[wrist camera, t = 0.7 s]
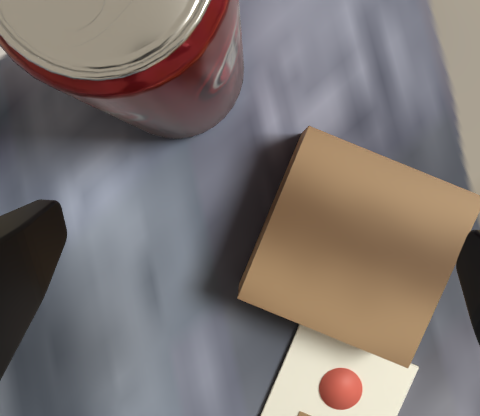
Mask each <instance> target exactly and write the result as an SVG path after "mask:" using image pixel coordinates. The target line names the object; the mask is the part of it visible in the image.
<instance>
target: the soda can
mask: <svg viewBox="0 0 480 416" xmlns="http://www.w3.org/2000/svg"><path fill="white" fill-rule="evenodd" d="M0 46H1V47H2V48H3V50H4V51H5V52H6V53H7V54H8V55H9V57H10V58H11V59H12V60H13V61H14V62H15V63H16V64H17V65H19V66H20V67H21V68H22V69H24V70H25V71H26V72H27V73H29V74H30V75H31V76H32V77H34V78H36V79H37V80H39V81H41V82H43V83H45V84H47V85H49V86H51V87H53V88H55V89H57V90H59V91H61V92H63V93H65V94H67V95H69V96H72V97H74V98H76V99H78V100H80V101H82V102H84V103H86V104H89V105H91V106H93V107H95V108H97V109H99V110H101V111H103V112H105V113H108V114H110V115H112V116H114V117H116V118H118V119H120V120H122V121H125V122H127V123H129V124H131V125H133V126H135V127H137V128H139V129H142V130H144V131H146V132H148V133H150V134H153V135H156V136H160V137H163V138H174V139H179V138H187V137H192V136H195V135H198V134H201V133H204V132H206V131H207V130H209V129H211V128H213V127H214V126H216V125H217V124H218V123H219V122H220V121H221V120H223V119H224V118H225V117H226V115H227V114H228V113H229V111H230V110H231V109H232V108H233V106H234V104H235V102H236V100H237V98H238V96H239V94H240V90H241V87H242V83H243V74H244V61H243V48H242V35H241V21H240V8H239V0H0Z"/></svg>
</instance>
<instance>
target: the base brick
mask: <svg viewBox="0 0 480 416" xmlns="http://www.w3.org/2000/svg"><path fill="white" fill-rule="evenodd" d="M479 211H480V195H477V194H475V193H472V192H470V191H468V190H465V189H463V188H460V187H458V186H455V185H453V184H450V183H448V182H445V181H443V180H441V179H438V178H436V177H433V176H431V175H428V174H426V173H423V172H421V171H418V170H416V169H414V168H411V167H409V166H406V165H404V164H401V163H399V162H396V161H394V160H391V159H389V158H387V157H384V156H382V155H379V154H377V153H374V152H372V151H369V150H367V149H364V148H362V147H360V146H357V145H355V144H352V143H350V142H347V141H345V140H342V139H340V138H337V137H335V136H333V135H330V134H328V133H325V132H323V131H320V130H318V129H315V128H313V127H310V126H308V127H307V128H306V129H305V130H304V131H303V132H302V133H301V136H300V138H299V140H298V143H297V145H296V148H295V150H294V153H293V155H292V157H291V160H290V162H289V165H288V167H287V169H286V172H285V174H284V177H283V179H282V182H281V184H280V186H279V189H278V191H277V194H276V196H275V198H274V201H273V203H272V206H271V208H270V211H269V213H268V215H267V218H266V220H265V223H264V225H263V227H262V230H261V232H260V235H259V237H258V240H257V242H256V244H255V247H254V249H253V252H252V254H251V256H250V259H249V261H248V264H247V266H246V268H245V271H244V273H243V276H242V278H241V281H240V283H239V290H238V297H237V299H240V300H242V301H244V302H247V303H249V304H252V305H254V306H257V307H259V308H262V309H264V310H266V311H269V312H271V313H274V314H276V315H279V316H281V317H283V318H286V319H288V320H291V321H293V322H296V323H298V324H301V325H303V326H305V327H308V328H310V329H313V330H315V331H318V332H320V333H323V334H325V335H327V336H330V337H332V338H335V339H337V340H340V341H342V342H344V343H347V344H349V345H352V346H354V347H357V348H359V349H362V350H364V351H366V352H369V353H371V354H374V355H376V356H379V357H381V358H383V359H386V360H388V361H391V362H393V363H396V364H398V365H401V366H403V367H405V368H409V366H410V363H411V361H412V359H413V357H414V355H415V352H416V350H417V348H418V346H419V344H420V341H421V339H422V337H423V335H424V333H425V330H426V328H427V326H428V324H429V322H430V319H431V317H432V315H433V313H434V310H435V308H436V306H437V304H438V302H439V299H440V297H441V295H442V293H443V291H444V288H445V286H446V284H447V282H448V280H449V277H450V275H451V273H452V271H453V269H454V266H455V264H456V262H457V258H458V256H459V253H460V251H461V249H462V246H463V244H464V242H465V239H466V237H467V235H468V233H469V232H470V231H471V229H472V227H473V224H474V222H475V220H476V218H477V216H478V213H479Z"/></svg>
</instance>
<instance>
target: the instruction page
mask: <svg viewBox="0 0 480 416" xmlns="http://www.w3.org/2000/svg"><path fill="white" fill-rule="evenodd" d="M418 368H419V367H418V366H416V365H414V364H411V363H410V366H409V368H405V367H403V366H401V365H398V364H396V363H393V362H391V361H388V360H386V359H383V358H381V357H379V356H376V355H374V354H371V353H369V352H366V351H364V350H362V349H359V348H357V347H354V346H352V345H349V344H347V343H344V342H342V341H340V340H337V339H335V338H332V337H330V336H327V335H325V334H323V333H320V332H318V331H315V330H313V329H310V328H308V327H305V326H303V325H301V324H299V326H298V329H297V331H296V333H295V336H294V338H293V340H292V343H291V345H290V347H289V350H288V352H287V354H286V357H285V359H284V361H283V364H282V366H281V368H280V371H279V373H278V375H277V378H276V380H275V382H274V385H273V387H272V389H271V392H270V394H269V396H268V399H267V401H266V403H265V406H264V408H263V410H262V413H261V415H260V416H397V415H398V412H399V410H400V408H401V406H402V404H403V401H404V399H405V397H406V395H407V393H408V390H409V388H410V386H411V384H412V382H413V379H414V377H415V375H416V373H417V371H418Z"/></svg>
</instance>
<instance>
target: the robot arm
mask: <svg viewBox="0 0 480 416" xmlns="http://www.w3.org/2000/svg"><path fill="white" fill-rule="evenodd" d="M66 239H67V229H66V225H65V221H64V216H63V212H62V208H61V205H60V203H59V202H57V201H55V200H42V199H41V200H37V201H34V202H32V203H30V204H27V205H25V206H23V207H20V208H18V209H16V210H13V211H11V212H9V213H6V214H4V215H2V216H0V380H1V378H2V376H3V374H4V372H5V370H6V369H7V367H8V365H9V363H10V361H11V359H12V357H13V355H14V353H15V352H16V350H17V348H18V346H19V344H20V342H21V340H22V338H23V336H24V335H25V333H26V331H27V329H28V327H29V325H30V323H31V321H32V319H33V318H34V316H35V314H36V312H37V310H38V308H39V306H40V304H41V302H42V300H43V298H44V296H45V294H46V291H47V289H48V286H49V284H50V281H51V279H52V276H53V273H54V271H55V268H56V266H57V263H58V261H59V258H60V255H61V253H62V250H63V248H64V245H65V242H66ZM456 269H457V273H458V277H459V280H460V284H461V287H462V291H463V295H464V298H465V302H466V305H467V309H468V313H469V316H470V320H471V323H472V326H473V329H474V332H475V335H476V338H477V340H478V343H479V345H480V230H472V231H470V232H469V233H468V235H467V237H466V239H465V242H464V244H463V246H462V249H461V251H460V253H459V256H458V258H457V262H456Z"/></svg>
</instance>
